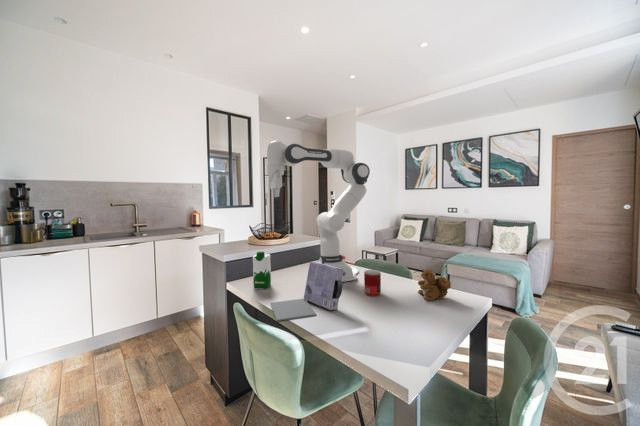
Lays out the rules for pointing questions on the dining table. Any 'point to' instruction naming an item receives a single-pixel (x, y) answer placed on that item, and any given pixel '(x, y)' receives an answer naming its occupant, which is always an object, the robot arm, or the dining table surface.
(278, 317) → the mat
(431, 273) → the stuffed squirrel
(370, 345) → the dining table surface
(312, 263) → the cake pan box
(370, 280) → the canned food
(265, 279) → the milk carton
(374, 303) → the dining table surface
